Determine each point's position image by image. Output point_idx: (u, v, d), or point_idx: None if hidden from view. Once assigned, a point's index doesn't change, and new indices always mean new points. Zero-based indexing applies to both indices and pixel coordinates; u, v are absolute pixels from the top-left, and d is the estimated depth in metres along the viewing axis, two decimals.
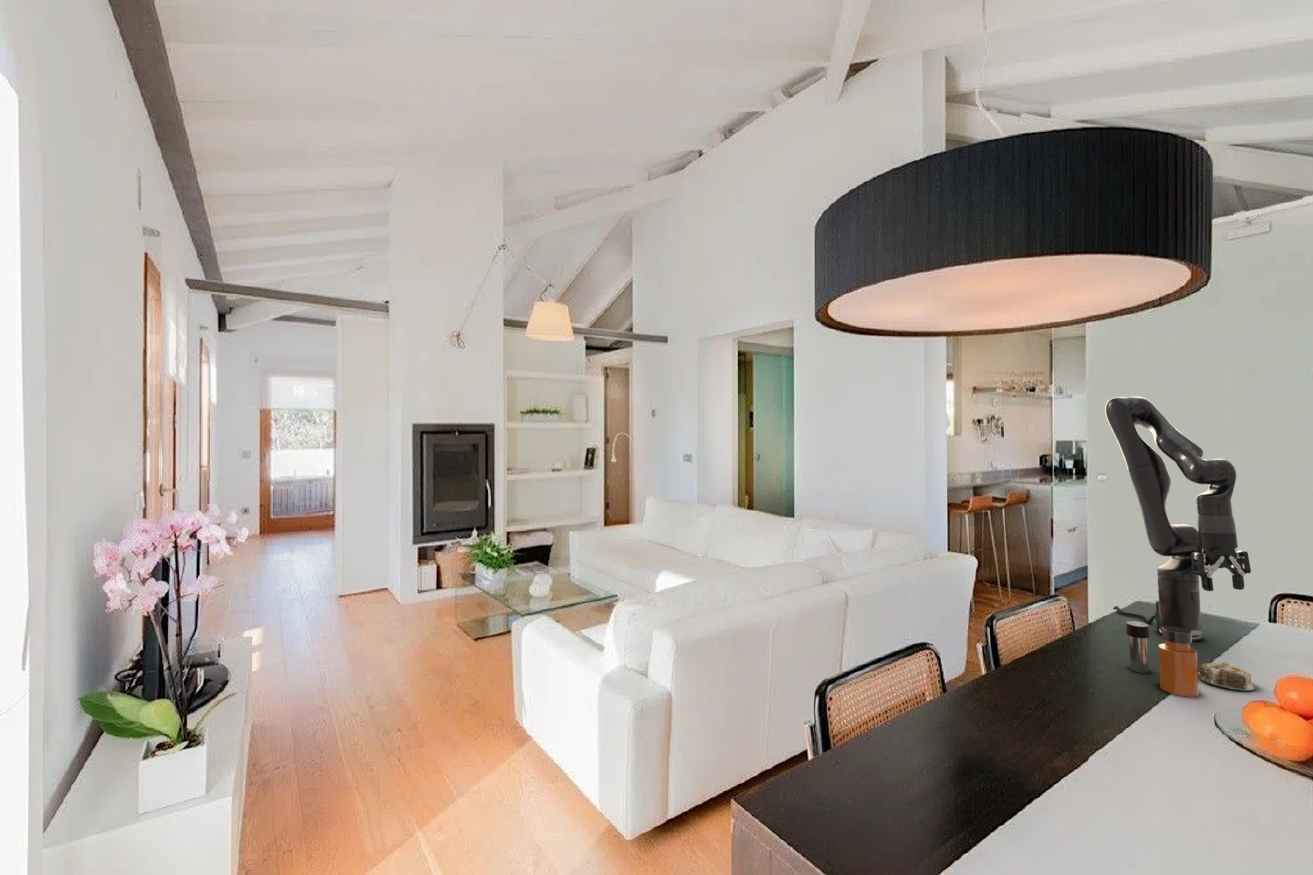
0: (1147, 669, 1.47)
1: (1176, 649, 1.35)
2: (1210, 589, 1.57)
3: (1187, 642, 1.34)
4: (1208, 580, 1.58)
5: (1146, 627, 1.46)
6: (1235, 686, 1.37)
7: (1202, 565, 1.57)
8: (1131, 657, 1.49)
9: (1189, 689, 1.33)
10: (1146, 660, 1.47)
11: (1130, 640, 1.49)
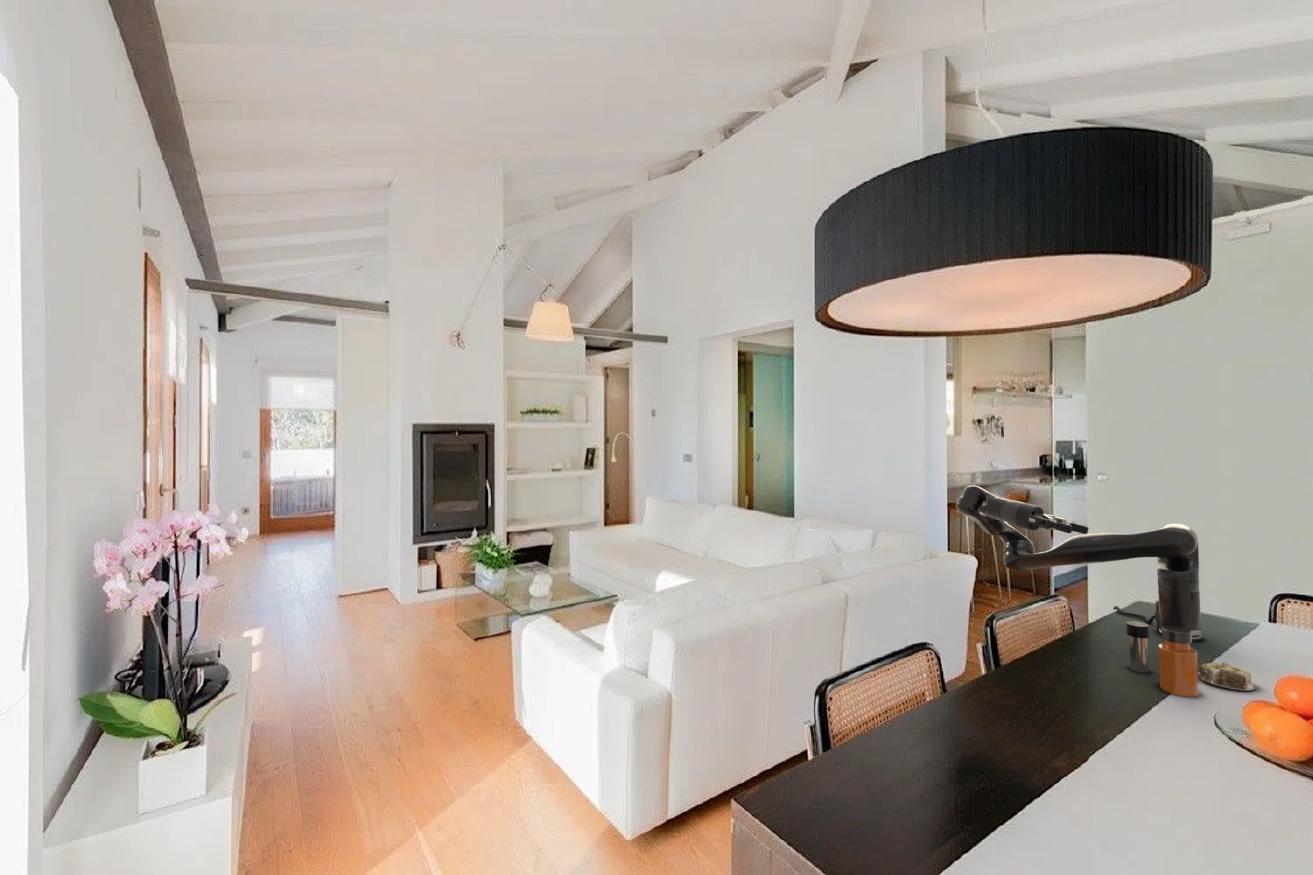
0: (1147, 669, 1.47)
1: (1176, 649, 1.35)
2: (1069, 526, 1.60)
3: (1187, 642, 1.34)
4: (1060, 524, 1.62)
5: (1146, 627, 1.46)
6: (1235, 686, 1.37)
7: (1041, 518, 1.65)
8: (1131, 657, 1.49)
9: (1189, 689, 1.33)
10: (1146, 660, 1.47)
11: (1130, 640, 1.49)
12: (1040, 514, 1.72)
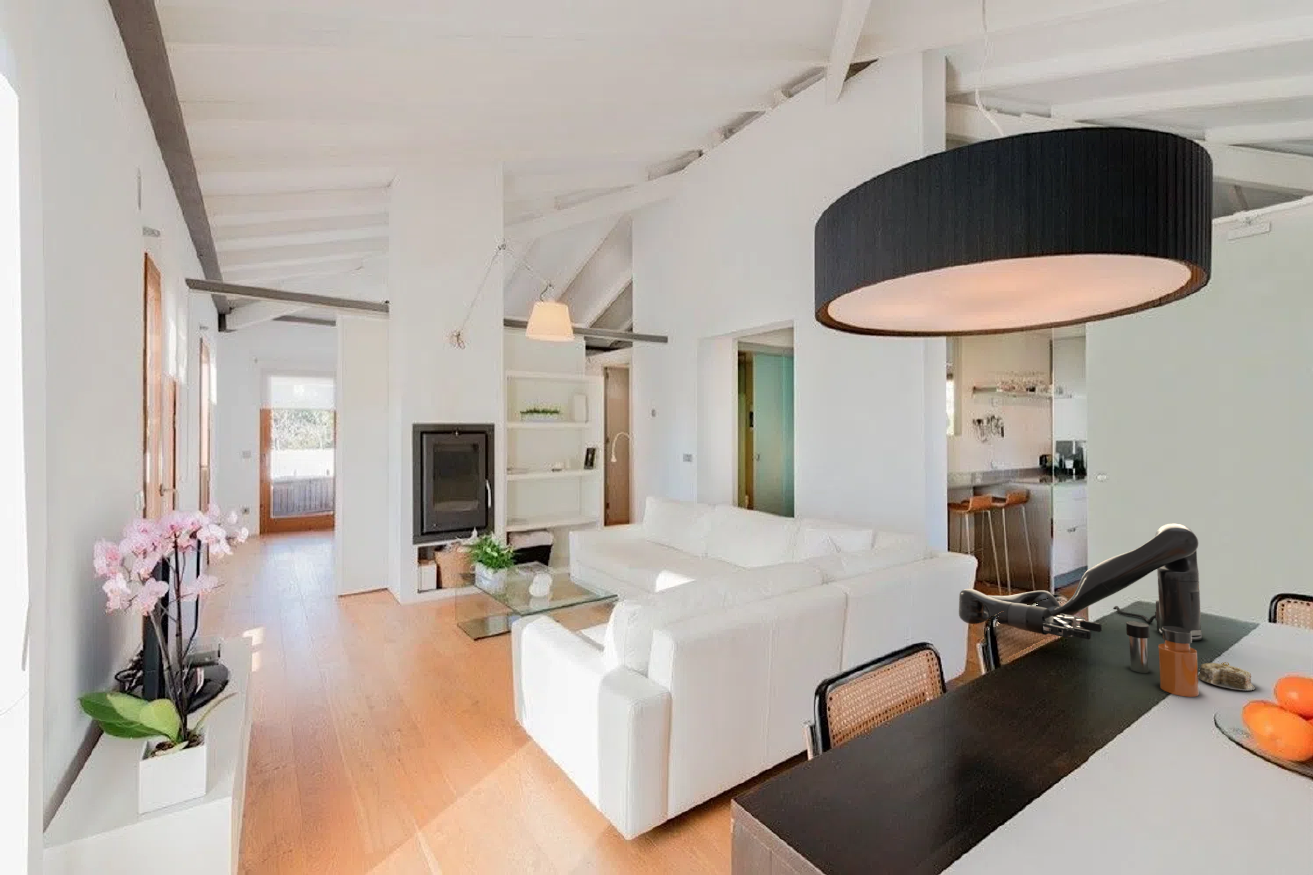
0: (1147, 669, 1.47)
1: (1176, 649, 1.35)
2: (1087, 631, 1.54)
3: (1187, 642, 1.34)
4: (1077, 630, 1.55)
5: (1146, 627, 1.46)
6: (1235, 686, 1.37)
7: (1056, 626, 1.58)
8: (1131, 657, 1.49)
9: (1189, 689, 1.33)
10: (1146, 660, 1.47)
11: (1130, 640, 1.49)
12: (1049, 616, 1.65)
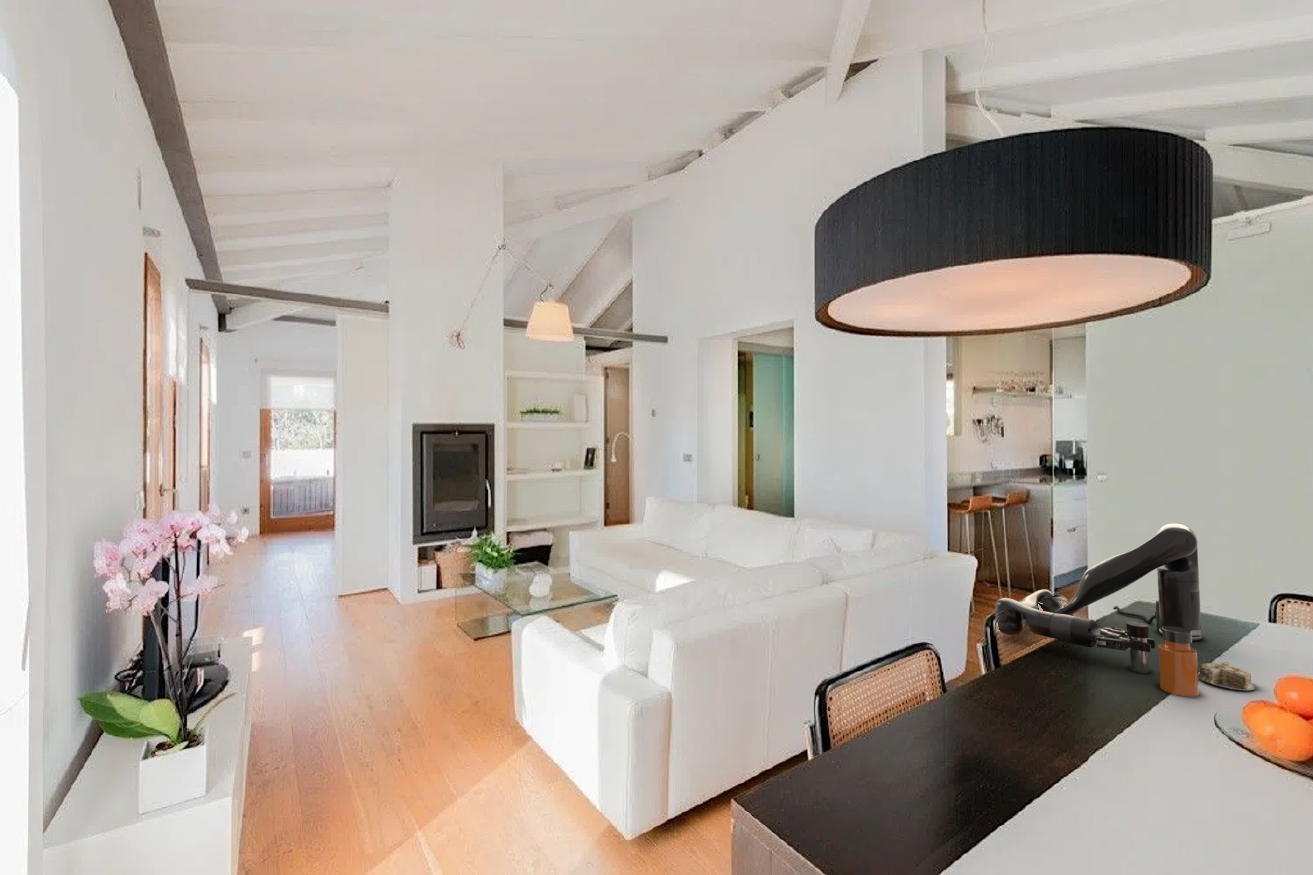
0: (1147, 669, 1.47)
1: (1176, 649, 1.35)
2: (1147, 644, 1.45)
3: (1187, 642, 1.34)
4: (1135, 643, 1.47)
5: (1146, 627, 1.46)
6: (1235, 686, 1.37)
7: (1112, 638, 1.49)
8: (1131, 657, 1.49)
9: (1189, 689, 1.33)
10: (1146, 660, 1.47)
11: None
12: (1095, 628, 1.57)
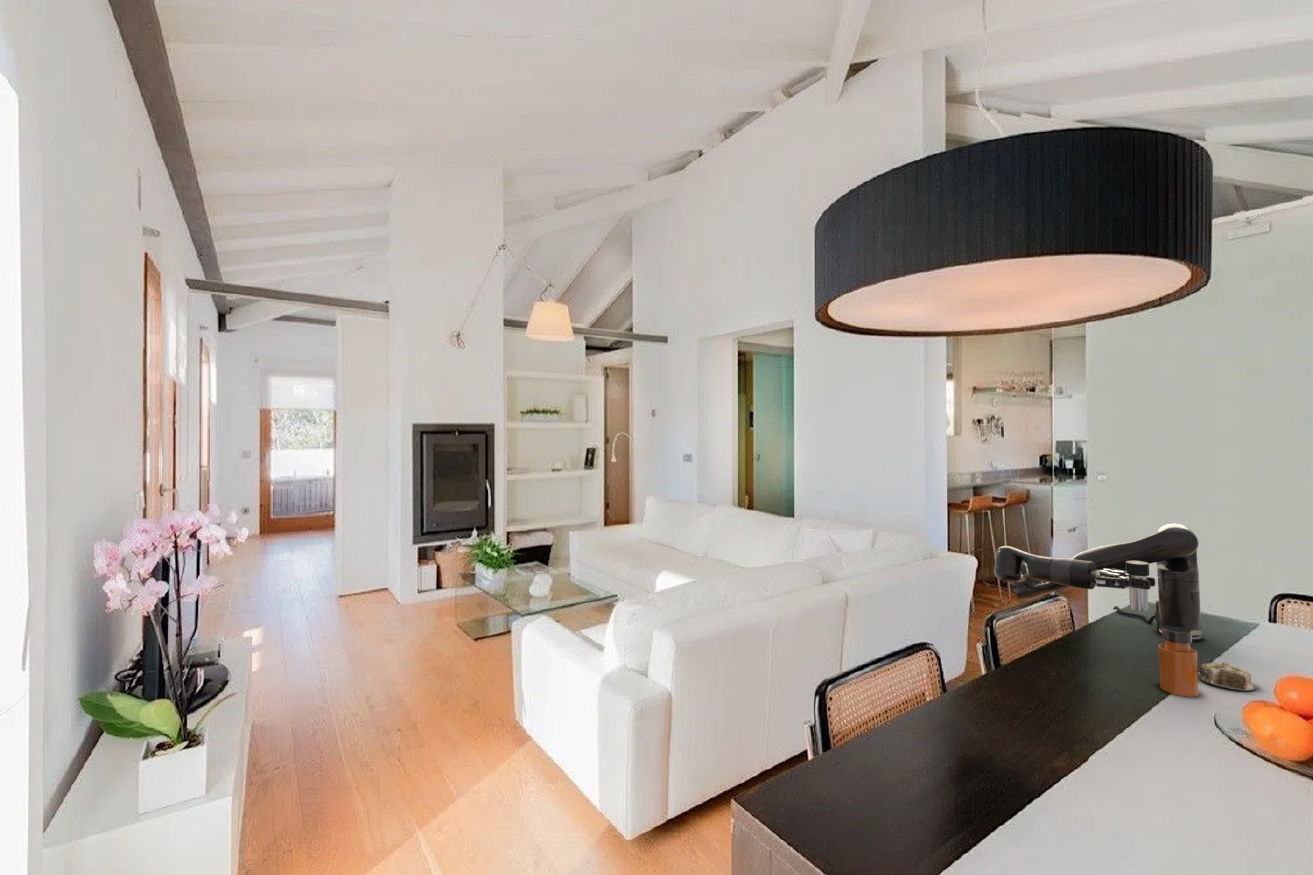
0: (1147, 607, 1.46)
1: (1176, 649, 1.35)
2: (1147, 581, 1.45)
3: (1187, 642, 1.34)
4: (1135, 581, 1.46)
5: (1146, 564, 1.46)
6: (1235, 686, 1.37)
7: (1111, 577, 1.48)
8: (1131, 596, 1.48)
9: (1189, 689, 1.33)
10: (1146, 598, 1.46)
11: (1130, 579, 1.48)
12: (1094, 570, 1.56)
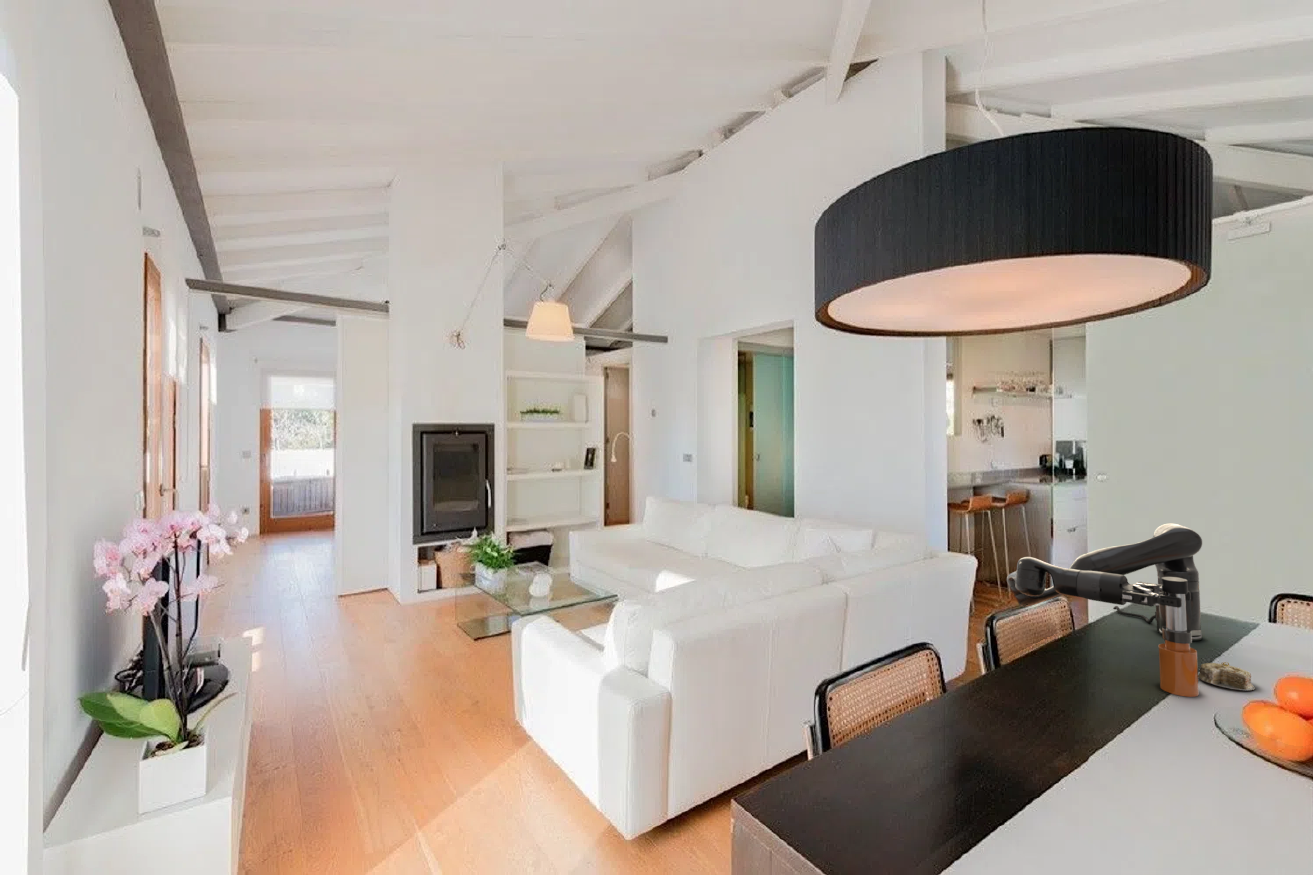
0: (1185, 628, 1.35)
1: (1176, 649, 1.35)
2: (1177, 598, 1.33)
3: (1187, 642, 1.34)
4: (1164, 598, 1.35)
5: (1184, 581, 1.35)
6: (1235, 686, 1.37)
7: (1139, 593, 1.37)
8: (1167, 615, 1.37)
9: (1189, 689, 1.33)
10: (1184, 618, 1.35)
11: None
12: (1126, 584, 1.45)
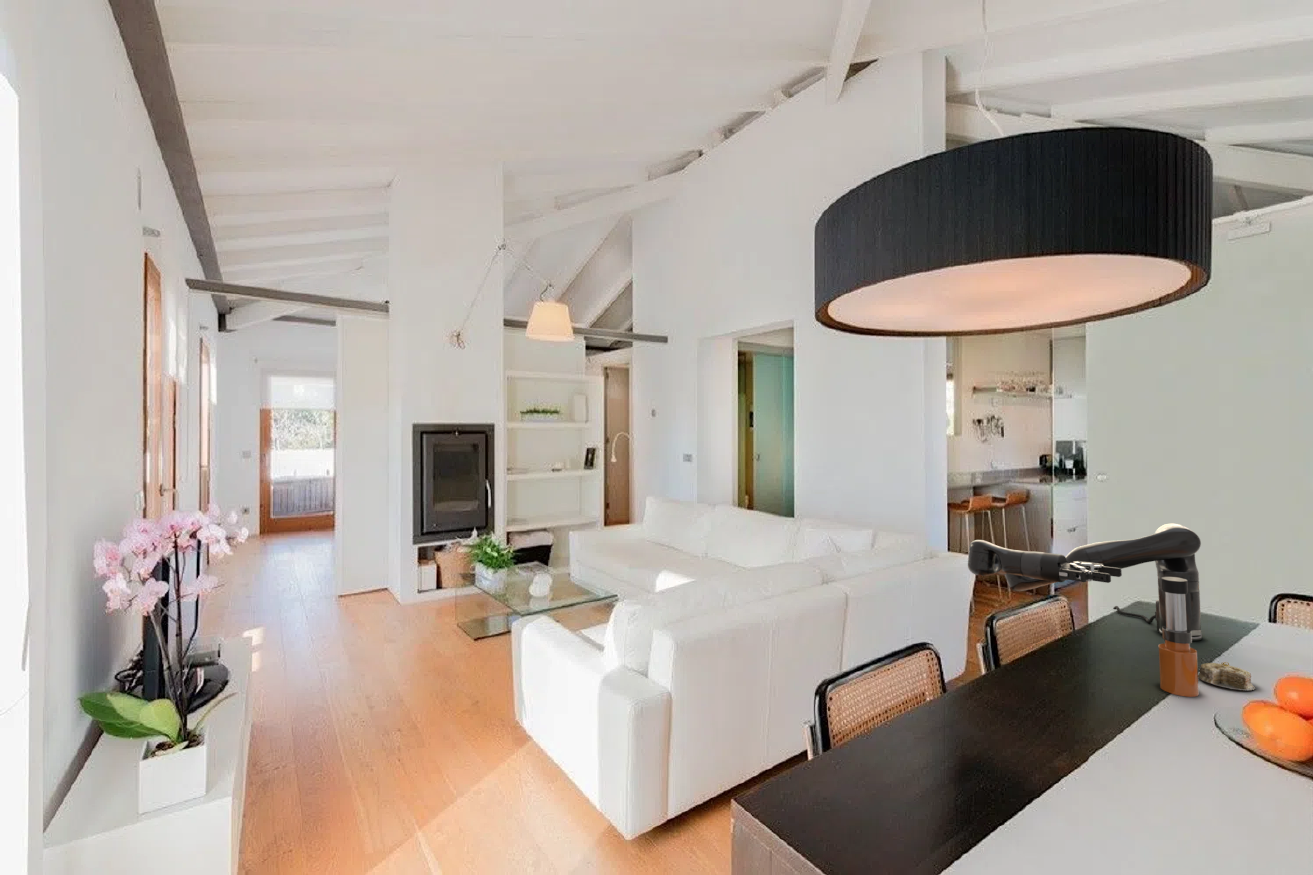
0: (1185, 628, 1.35)
1: (1176, 649, 1.35)
2: (1107, 574, 1.44)
3: (1187, 642, 1.34)
4: (1096, 574, 1.46)
5: (1184, 581, 1.35)
6: (1235, 686, 1.37)
7: (1073, 570, 1.48)
8: (1167, 615, 1.37)
9: (1189, 689, 1.33)
10: (1184, 618, 1.35)
11: (1166, 597, 1.37)
12: (1064, 563, 1.56)
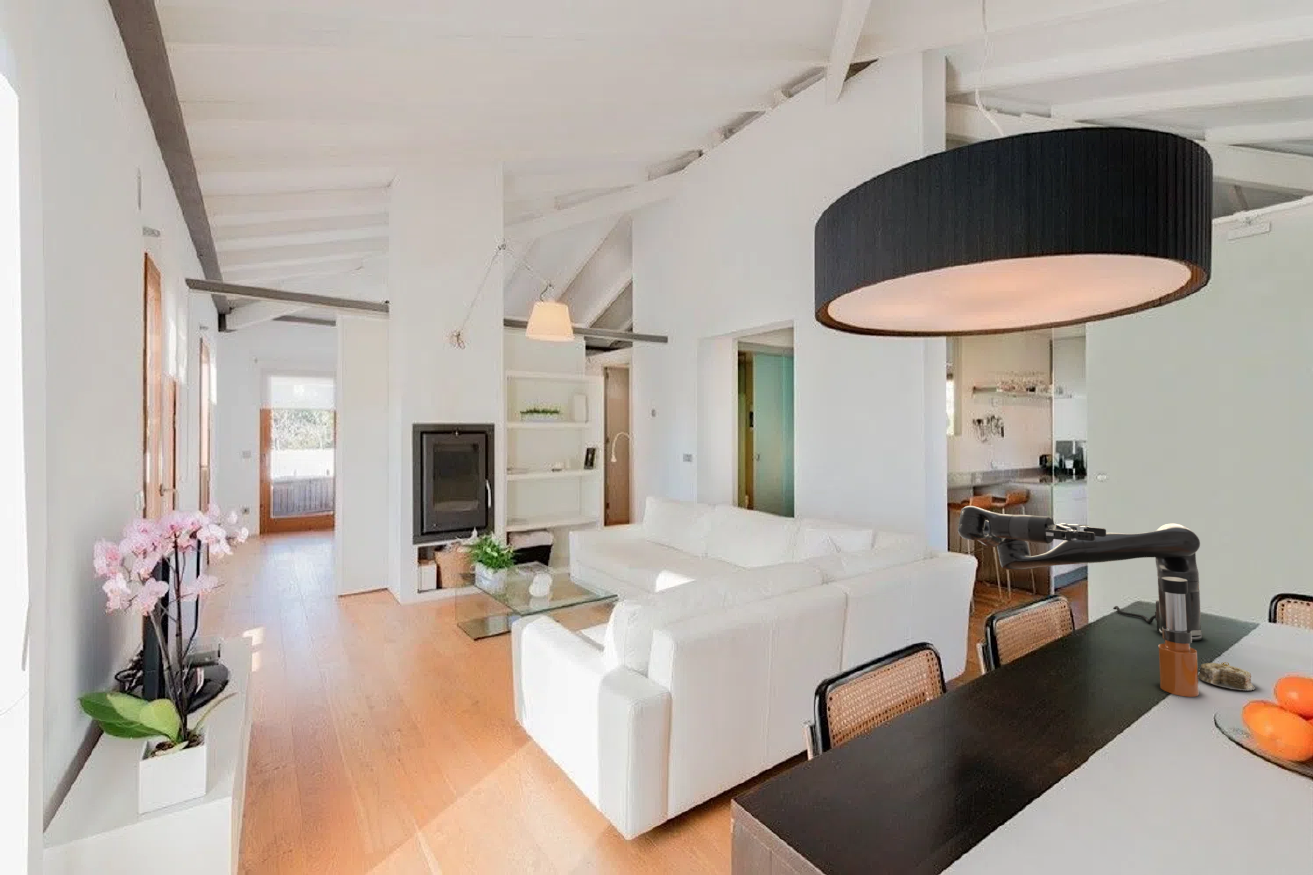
0: (1185, 628, 1.35)
1: (1176, 649, 1.35)
2: (1091, 533, 1.49)
3: (1187, 642, 1.34)
4: None
5: (1184, 581, 1.35)
6: (1235, 686, 1.37)
7: (1059, 530, 1.53)
8: (1167, 615, 1.37)
9: (1189, 689, 1.33)
10: (1184, 618, 1.35)
11: (1166, 597, 1.37)
12: (1051, 524, 1.61)
